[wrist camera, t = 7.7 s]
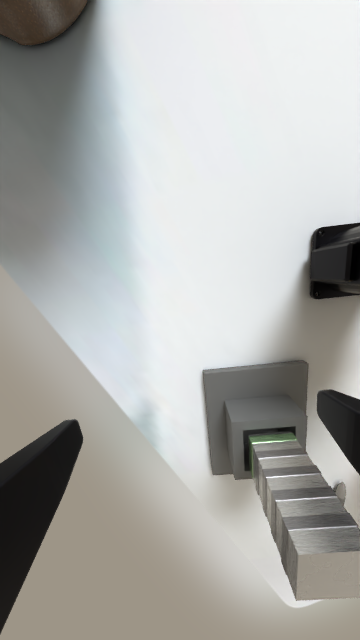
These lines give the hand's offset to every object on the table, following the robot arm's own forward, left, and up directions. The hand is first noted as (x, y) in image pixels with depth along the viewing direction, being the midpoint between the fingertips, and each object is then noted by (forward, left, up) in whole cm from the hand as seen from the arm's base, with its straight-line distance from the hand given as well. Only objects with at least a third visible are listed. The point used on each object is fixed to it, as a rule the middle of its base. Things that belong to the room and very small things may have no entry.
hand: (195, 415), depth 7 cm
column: (-7, +12, -9) cm, 17 cm away
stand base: (-7, +12, -13) cm, 19 cm away
